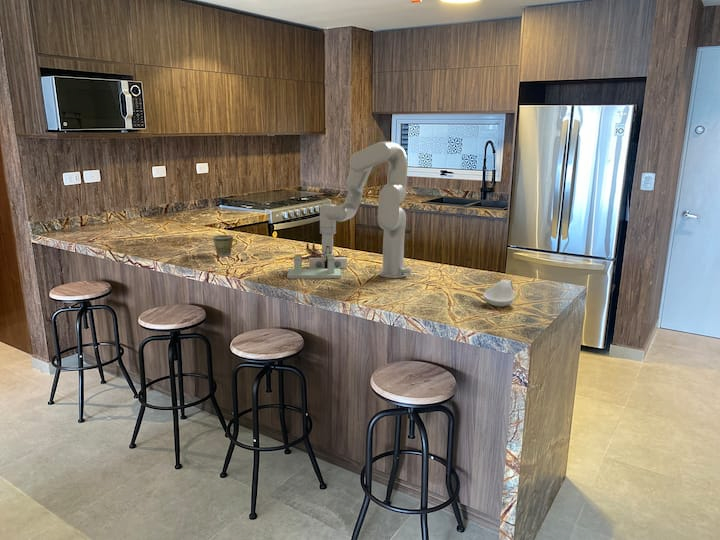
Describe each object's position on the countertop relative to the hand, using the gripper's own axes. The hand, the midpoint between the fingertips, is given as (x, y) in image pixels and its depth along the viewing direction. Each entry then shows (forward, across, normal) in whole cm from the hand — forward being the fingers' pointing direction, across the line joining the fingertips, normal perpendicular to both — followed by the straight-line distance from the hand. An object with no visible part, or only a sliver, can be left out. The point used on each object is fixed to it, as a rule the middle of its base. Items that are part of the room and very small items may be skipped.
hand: (327, 266), depth 262 cm
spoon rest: (+1, +51, +69) cm, 86 cm away
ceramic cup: (+1, -26, -53) cm, 59 cm away
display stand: (+1, +13, -6) cm, 14 cm away
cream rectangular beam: (+1, 0, 0) cm, 1 cm away
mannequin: (+2, -29, -6) cm, 29 cm away
